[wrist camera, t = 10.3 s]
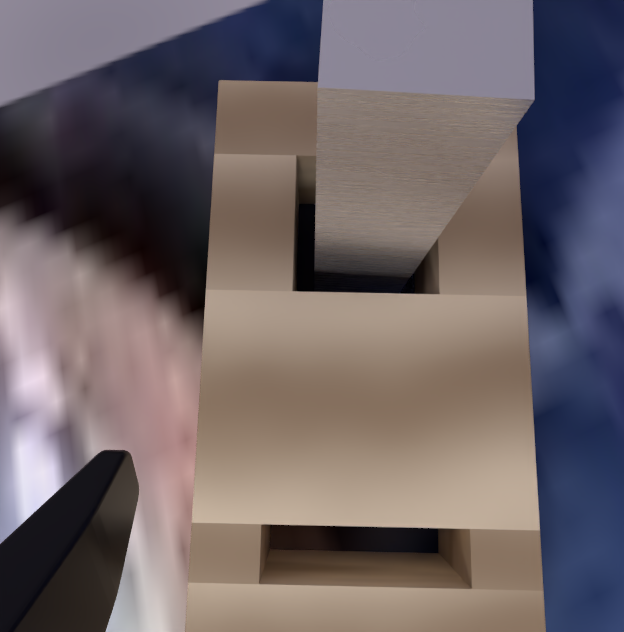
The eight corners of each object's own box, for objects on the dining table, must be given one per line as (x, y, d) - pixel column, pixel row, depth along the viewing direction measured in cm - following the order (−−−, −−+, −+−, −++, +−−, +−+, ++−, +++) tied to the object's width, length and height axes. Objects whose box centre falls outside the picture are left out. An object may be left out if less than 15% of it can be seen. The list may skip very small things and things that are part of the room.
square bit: (396, 297, 20) (534, 99, 8) (314, 292, 21) (317, 87, 8) (398, 220, 21) (530, -83, 8) (319, 215, 21) (330, -94, 8)
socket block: (500, 686, 18) (553, 761, 14) (207, 679, 18) (177, 752, 14) (477, 146, 22) (514, 85, 18) (235, 141, 22) (218, 80, 18)
